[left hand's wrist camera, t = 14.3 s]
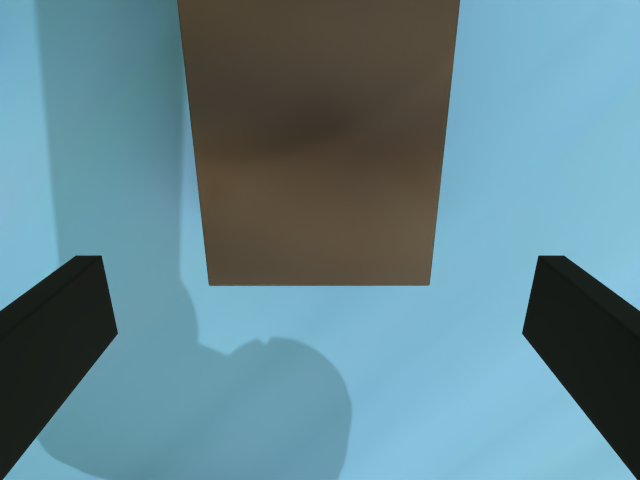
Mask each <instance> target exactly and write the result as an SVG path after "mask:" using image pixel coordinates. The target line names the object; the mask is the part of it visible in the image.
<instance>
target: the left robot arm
mask: <svg viewBox="0 0 640 480" xmlns="http://www.w3.org/2000/svg"><path fill="white" fill-rule="evenodd" d="M117 334H118V332H117V327H116V322H115V317H114V313H113V308H112V303H111V298H110V294H109V289H108V284H107V279H106V275H105V270H104V265H103V261H102V256H75V257H73V258H72V259H71V260H69V261H68V262H67V263H65V264H64V265H63V266H61V267H60V268H58V269H57V270H56V271H54V272H53V273H52V274H50V275H49V276H48V277H46V278H45V279H43V280H42V281H41V282H39V283H38V284H37V285H35V286H34V287H33V288H31V289H30V290H28V291H27V292H26V293H24V294H23V295H22V296H20V297H19V298H17V299H16V300H15V301H13V302H12V303H11V304H9V305H8V306H7V307H5V308H4V309H2V310H1V311H0V480H3V479H4V477H5V476H6V475H7V474H8V472H9V471H10V470H11V469H12V467H13V466H14V465H15V463H16V462H17V461H18V460H19V458H20V457H21V456H22V455H23V453H24V452H25V451H26V450H27V448H28V447H29V446H30V444H31V443H32V442H33V441H34V439H35V438H36V437H37V436H38V434H39V433H40V432H41V430H42V429H43V428H44V427H45V425H46V424H47V423H48V422H49V420H50V419H51V418H52V417H53V415H54V414H55V413H56V411H57V410H58V409H59V408H60V406H61V405H62V404H63V403H64V401H65V400H66V399H67V397H68V396H69V395H70V394H71V392H72V391H73V390H74V389H75V387H76V386H77V385H78V384H79V382H80V381H81V380H82V378H83V377H84V376H85V375H86V373H87V372H88V371H89V370H90V368H91V367H92V366H93V364H94V363H95V362H96V361H97V359H98V358H99V357H100V356H101V354H102V353H103V352H104V350H105V349H106V348H107V347H108V345H109V344H110V343H111V342H112V340H113V339H114V338H115V337H116V335H117ZM522 334H523V335H524V337H525V338H526V339H527V340H528V342H529V343H530V344H531V345H532V347H533V348H534V349H535V350H536V352H537V353H538V354H539V356H540V357H541V358H542V359H543V361H544V362H545V363H546V364H547V366H548V367H549V368H550V370H551V371H552V372H553V373H554V375H555V376H556V377H557V378H558V380H559V381H560V382H561V384H562V385H563V386H564V387H565V389H566V390H567V391H568V392H569V394H570V395H571V396H572V397H573V399H574V400H575V401H576V403H577V404H578V405H579V406H580V408H581V409H582V410H583V411H584V413H585V414H586V415H587V417H588V418H589V419H590V420H591V422H592V423H593V424H594V425H595V427H596V428H597V429H598V430H599V432H600V433H601V434H602V436H603V437H604V438H605V439H606V441H607V442H608V443H609V444H610V446H611V447H612V448H613V450H614V451H615V452H616V453H617V455H618V456H619V457H620V458H621V460H622V461H623V462H624V463H625V465H626V466H627V467H628V469H629V470H630V471H631V472H632V474H633V475H634V476H635V477H636V479H637V480H640V311H639V310H638V309H636V308H635V307H633V306H632V305H631V304H629V303H628V302H627V301H625V300H624V299H623V298H621V297H620V296H618V295H617V294H616V293H614V292H613V291H612V290H610V289H609V288H607V287H606V286H605V285H603V284H602V283H601V282H599V281H598V280H597V279H595V278H594V277H592V276H591V275H590V274H588V273H587V272H586V271H584V270H583V269H582V268H580V267H579V266H577V265H576V264H575V263H573V262H572V261H571V260H569V259H568V258H567V257H565V256H538V261H537V265H536V270H535V275H534V279H533V284H532V289H531V294H530V298H529V303H528V308H527V313H526V317H525V322H524V327H523V332H522Z"/></svg>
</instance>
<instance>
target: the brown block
mask: <svg viewBox="0 0 640 480" xmlns="http://www.w3.org/2000/svg"><path fill="white" fill-rule="evenodd" d="M177 2H178V11H179V20H180V29H181V38H182V47H183V56H184V65H185V74H186V83H187V92H188V101H189V110H190V119H191V128H192V137H193V146H194V155H195V164H196V173H197V182H198V191H199V200H200V209H201V218H202V227H203V236H204V245H205V254H206V263H207V272H208V281H209V285H210V286H424V285H429V284H430V276H431V267H432V257H433V248H434V239H435V229H436V220H437V211H438V201H439V192H440V183H441V173H442V164H443V155H444V145H445V136H446V127H447V118H448V108H449V99H450V90H451V80H452V71H453V62H454V52H455V43H456V34H457V24H458V15H459V6H460V0H177Z"/></svg>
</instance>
